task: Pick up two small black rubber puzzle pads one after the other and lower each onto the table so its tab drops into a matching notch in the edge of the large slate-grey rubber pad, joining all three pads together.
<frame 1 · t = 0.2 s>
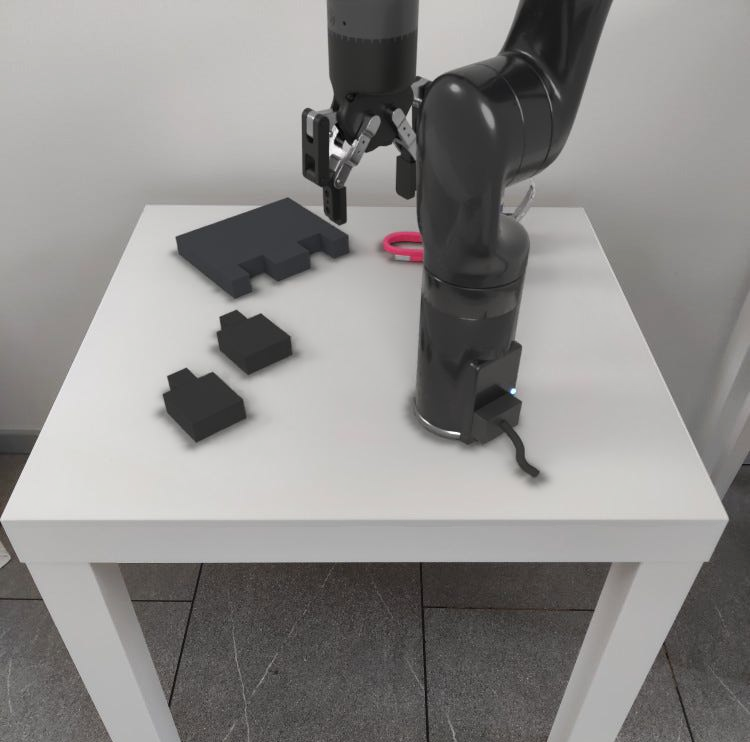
hand: (372, 208, 75), 17 cm above the table, tool pointing down, fingers open, 8 cm apart
container: (475, 277, 99), on the table
pad 1: (255, 352, 87), on the table
floor pad: (263, 253, 102), on the table
watch: (497, 246, 104), on the table
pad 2: (206, 415, 80), on the table
fitness band: (412, 251, 103), on the table
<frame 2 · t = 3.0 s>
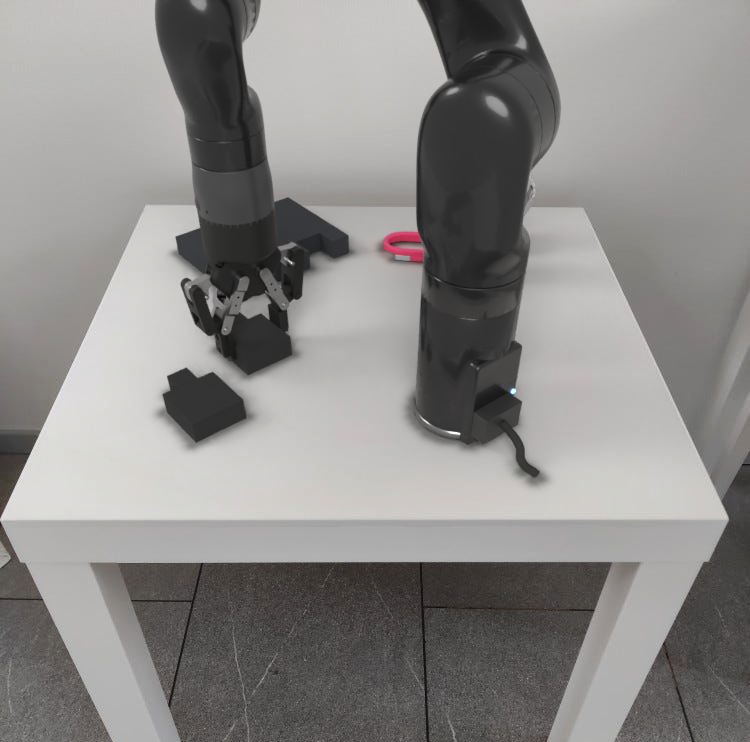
hand: (254, 345, 87), 1 cm above the table, tool pointing down, fingers closed on pad 1, 6 cm apart
pad 1: (255, 352, 87), on the table, touching gripper
everything else where it was.
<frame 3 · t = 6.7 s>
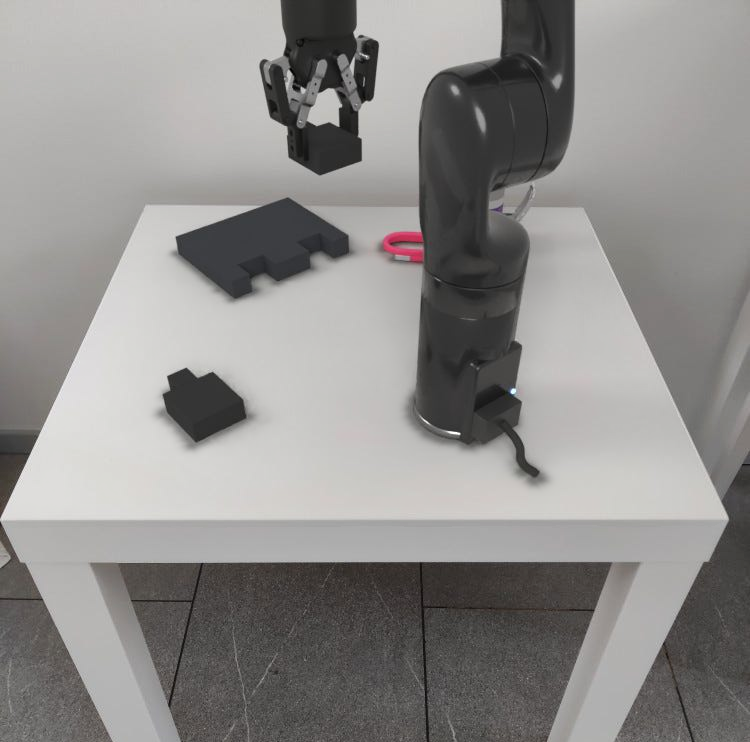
hand: (325, 151, 86), 16 cm above the table, tool pointing down, fingers closed on pad 1, 6 cm apart
pad 1: (325, 159, 87), point 15 cm above the table, touching gripper
everything else where it was.
when the fingers open (1 cm above the table, at t = 10.6 s): pad 1 stays where it is, on the table.
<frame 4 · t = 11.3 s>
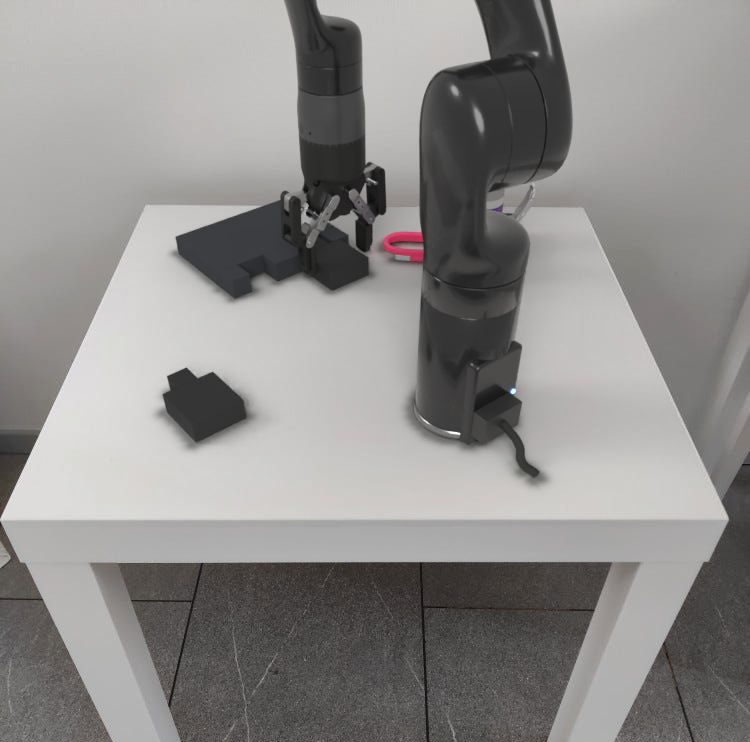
hand: (336, 260, 97), 2 cm above the table, tool pointing down, fingers open, 8 cm apart
pad 1: (336, 273, 99), on the table
everything else where it was.
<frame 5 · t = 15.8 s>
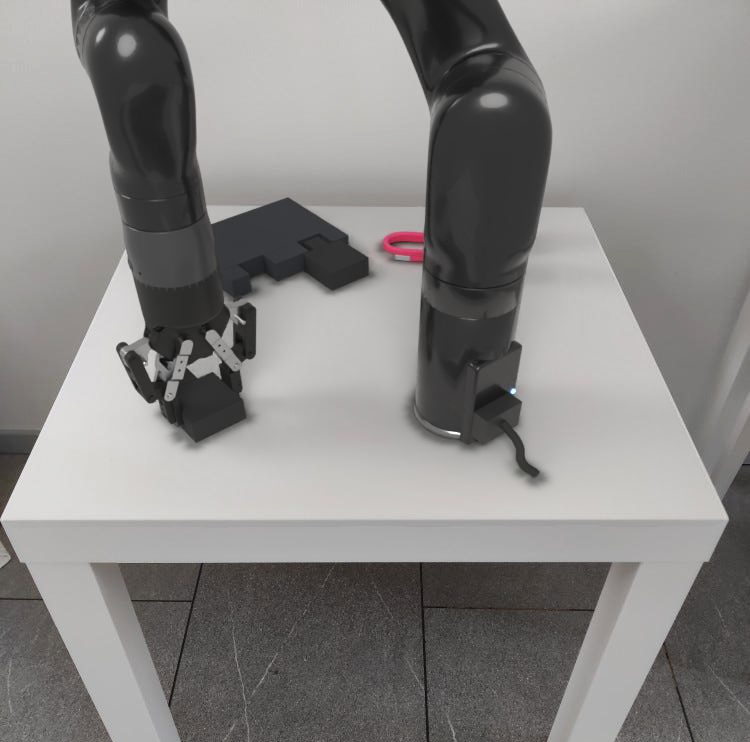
hand: (204, 408, 79), 1 cm above the table, tool pointing down, fingers closed on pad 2, 6 cm apart
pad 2: (206, 415, 80), on the table, touching gripper
everything else where it was.
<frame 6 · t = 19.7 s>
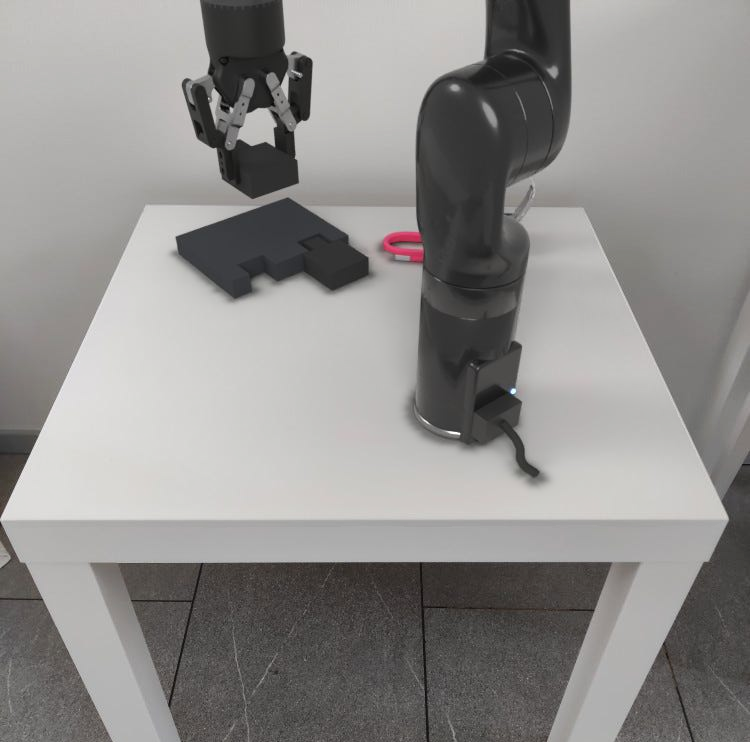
hand: (259, 172, 82), 16 cm above the table, tool pointing down, fingers closed on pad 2, 6 cm apart
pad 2: (260, 181, 82), point 15 cm above the table, touching gripper
everything else where it was.
when the fingers open (1 cm above the table, at t = 23.6 s): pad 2 stays where it is, on the table.
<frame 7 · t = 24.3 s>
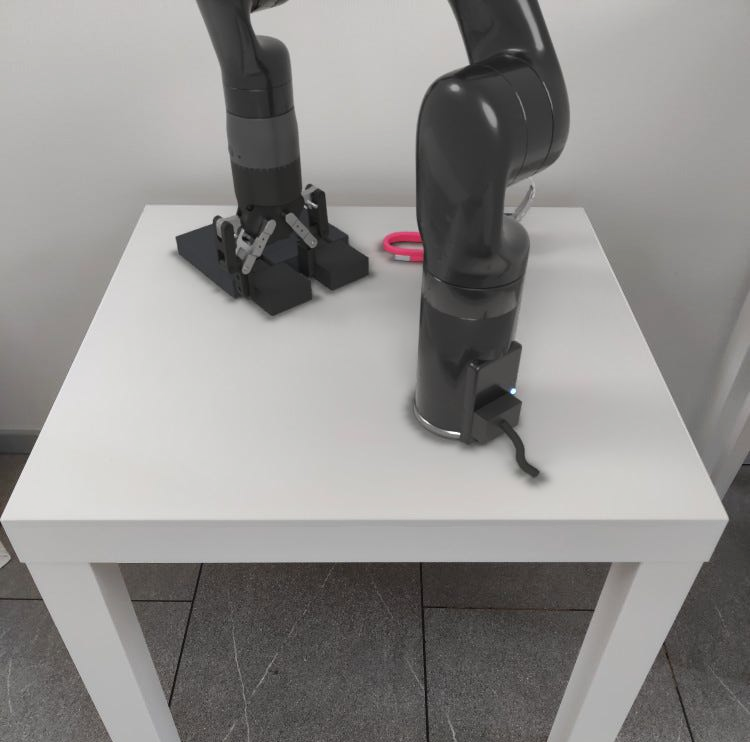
hand: (278, 285, 94), 2 cm above the table, tool pointing down, fingers open, 8 cm apart
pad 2: (278, 297, 95), on the table
everything else where it was.
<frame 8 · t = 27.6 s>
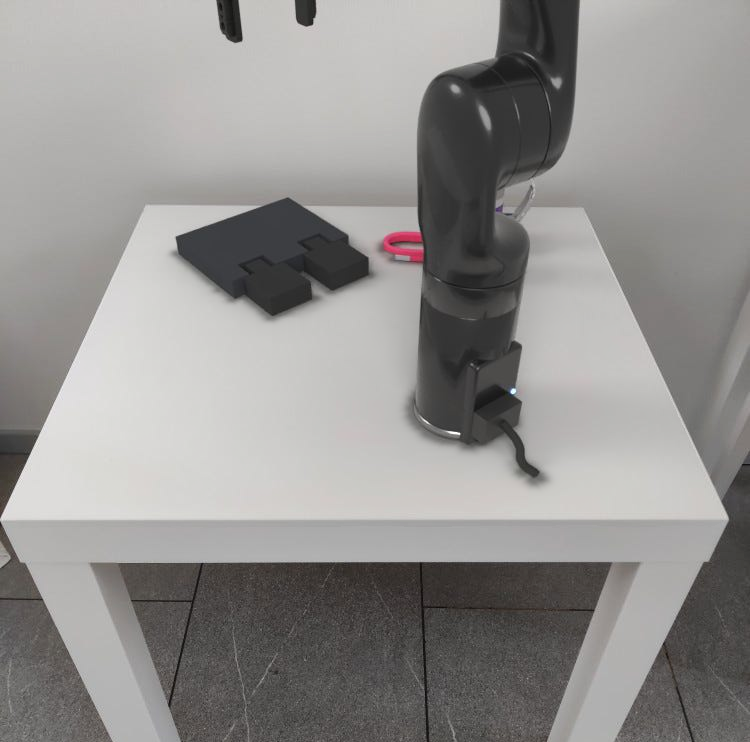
hand: (270, 32, 77), 28 cm above the table, tool pointing down, fingers open, 8 cm apart
nothing on the table moved.
at the end: pad 1 0.2 cm from the target spot on the table beside the floor pad, on the table; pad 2 0.2 cm from the target spot on the table beside the floor pad, on the table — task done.
